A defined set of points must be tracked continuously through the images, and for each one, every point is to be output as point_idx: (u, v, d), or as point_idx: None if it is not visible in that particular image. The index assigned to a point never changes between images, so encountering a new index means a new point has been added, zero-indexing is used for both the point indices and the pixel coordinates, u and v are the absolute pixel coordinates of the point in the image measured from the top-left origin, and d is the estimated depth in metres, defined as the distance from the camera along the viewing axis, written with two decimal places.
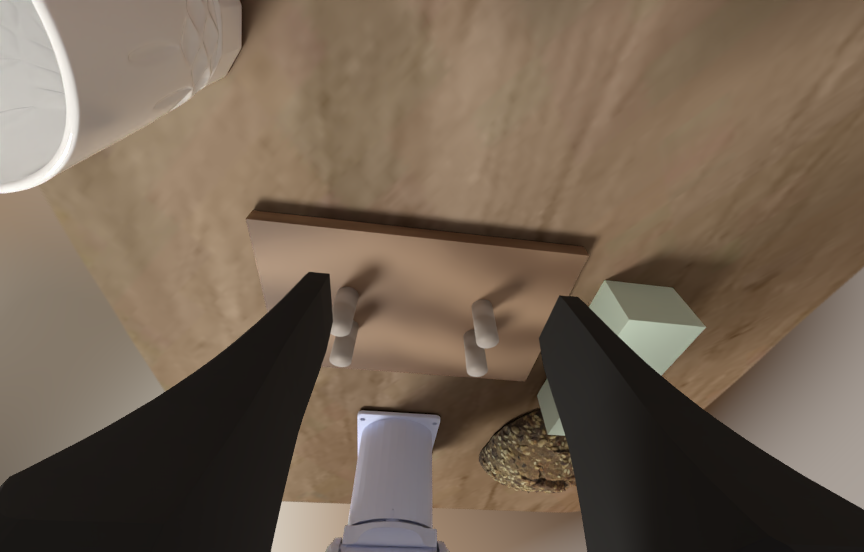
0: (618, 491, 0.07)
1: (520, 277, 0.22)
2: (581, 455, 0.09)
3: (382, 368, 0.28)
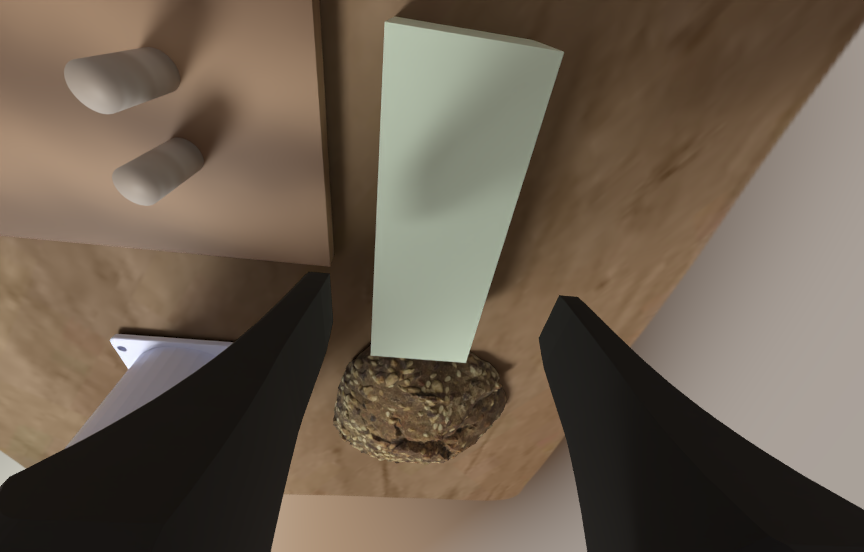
0: (618, 491, 0.07)
1: None
2: (581, 455, 0.09)
3: (72, 236, 0.16)
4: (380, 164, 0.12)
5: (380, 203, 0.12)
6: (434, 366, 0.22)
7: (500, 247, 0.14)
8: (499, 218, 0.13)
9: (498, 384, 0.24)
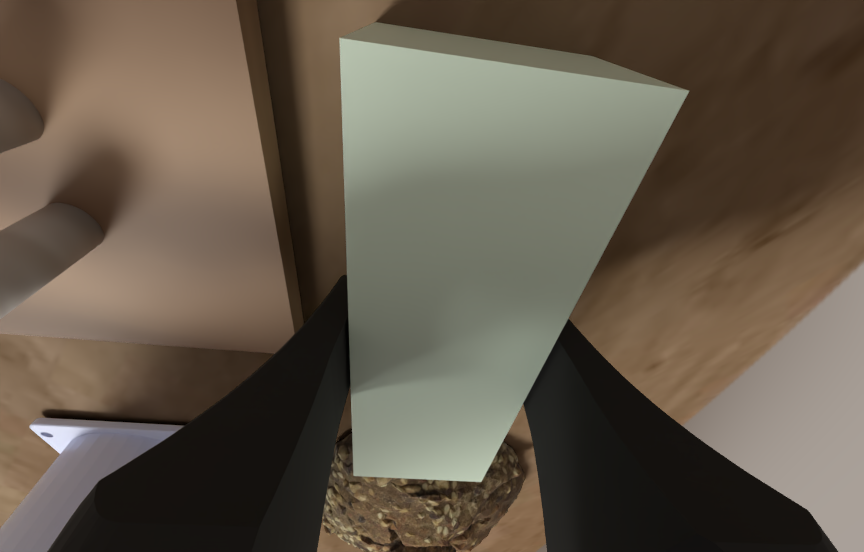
0: (573, 489, 0.07)
1: None
2: (544, 453, 0.09)
3: None
4: (349, 269, 0.07)
5: (353, 318, 0.08)
6: None
7: (538, 368, 0.09)
8: (540, 335, 0.08)
9: (517, 471, 0.19)
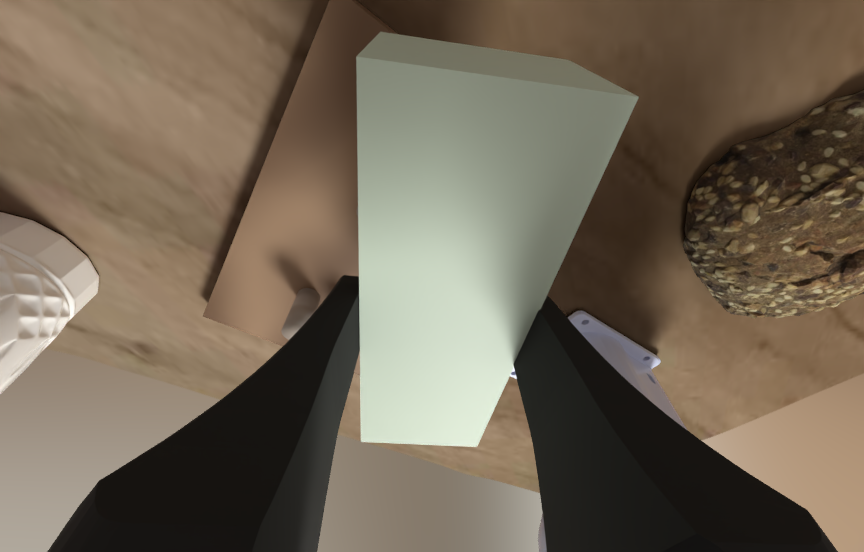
0: (573, 489, 0.07)
1: (344, 114, 0.15)
2: (543, 453, 0.09)
3: None
4: (361, 247, 0.08)
5: (363, 292, 0.09)
6: (790, 157, 0.16)
7: (525, 337, 0.10)
8: (525, 306, 0.10)
9: None
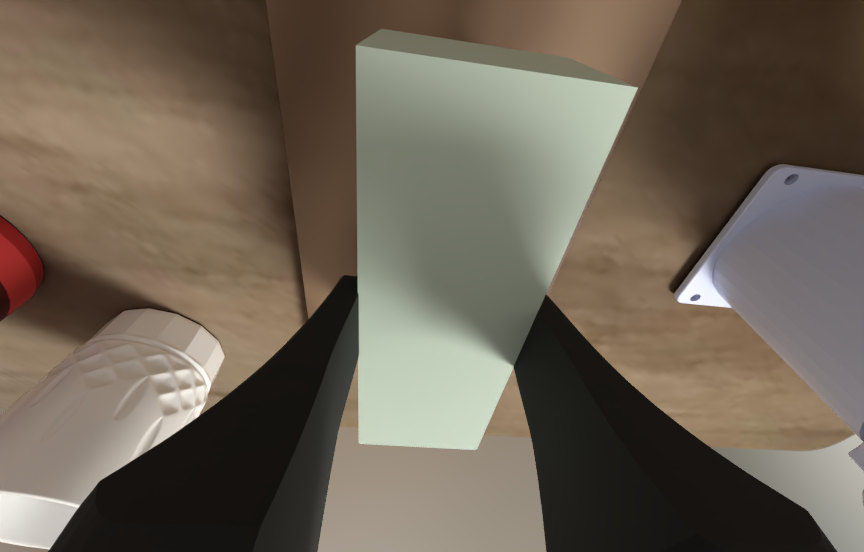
0: (572, 489, 0.07)
1: (336, 31, 0.11)
2: (543, 453, 0.09)
3: None
4: (359, 241, 0.08)
5: (362, 287, 0.09)
6: None
7: (525, 335, 0.10)
8: (525, 303, 0.09)
9: None
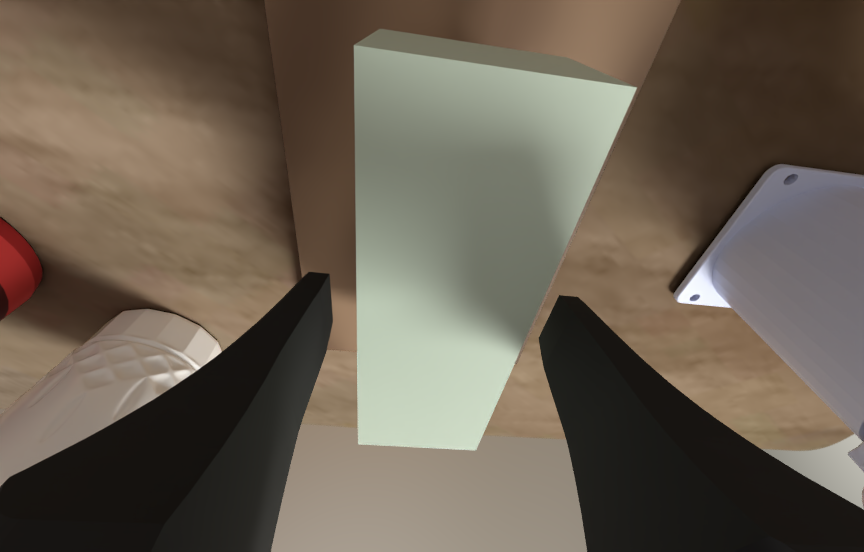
0: (618, 491, 0.07)
1: (334, 31, 0.11)
2: (581, 455, 0.09)
3: None
4: (358, 241, 0.08)
5: (361, 287, 0.09)
6: None
7: (524, 335, 0.10)
8: (524, 303, 0.09)
9: None
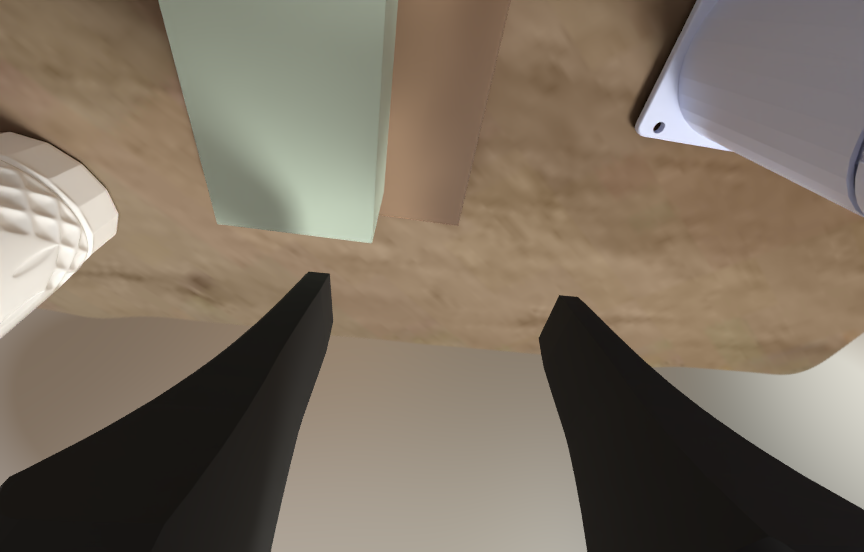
0: (618, 491, 0.07)
1: None
2: (581, 455, 0.09)
3: (489, 57, 0.14)
4: None
5: None
6: None
7: None
8: None
9: None
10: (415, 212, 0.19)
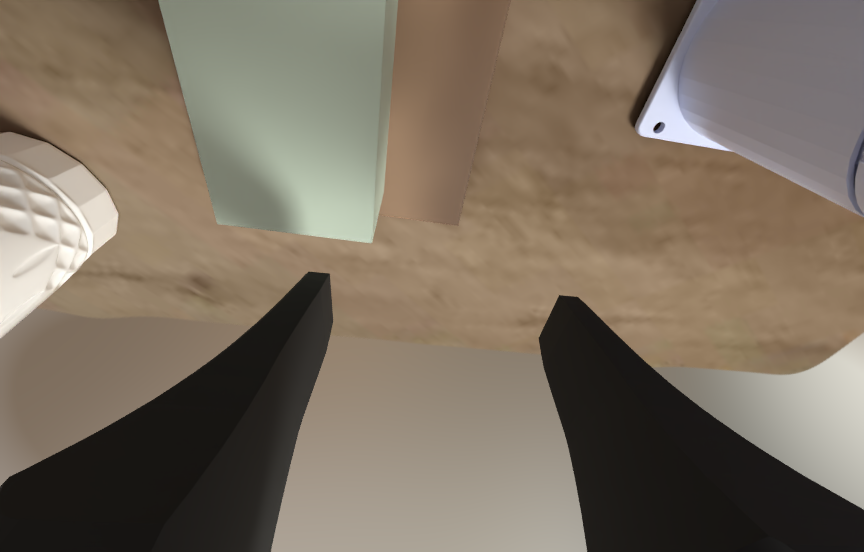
0: (618, 491, 0.07)
1: None
2: (581, 455, 0.09)
3: (489, 57, 0.14)
4: None
5: None
6: None
7: None
8: None
9: None
10: (415, 212, 0.19)
